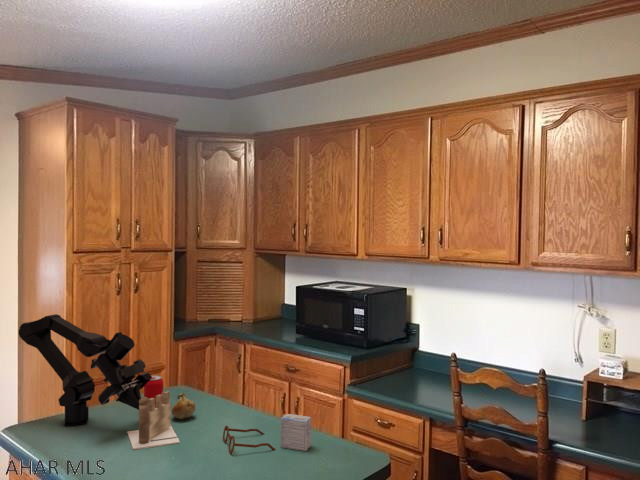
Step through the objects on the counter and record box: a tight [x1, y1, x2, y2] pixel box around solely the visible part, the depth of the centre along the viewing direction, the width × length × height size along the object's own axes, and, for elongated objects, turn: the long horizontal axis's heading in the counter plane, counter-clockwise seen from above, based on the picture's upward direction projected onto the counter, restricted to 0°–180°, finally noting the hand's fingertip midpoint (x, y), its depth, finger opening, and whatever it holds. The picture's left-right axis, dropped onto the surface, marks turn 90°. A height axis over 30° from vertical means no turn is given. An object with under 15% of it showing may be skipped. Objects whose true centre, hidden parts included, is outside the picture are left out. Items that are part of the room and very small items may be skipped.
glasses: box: [222, 425, 276, 455], centre depth 160 cm, size 13×13×5 cm
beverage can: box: [143, 374, 164, 408], centre depth 185 cm, size 6×6×12 cm
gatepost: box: [138, 396, 150, 444], centre depth 159 cm, size 3×3×14 cm
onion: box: [171, 392, 196, 420], centre depth 181 cm, size 8×8×8 cm
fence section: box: [149, 391, 172, 438], centre depth 166 cm, size 10×1×11 cm, turn 160°
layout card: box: [126, 425, 181, 451], centre depth 164 cm, size 13×14×1 cm
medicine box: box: [280, 413, 312, 452], centre depth 159 cm, size 8×4×9 cm, turn 71°
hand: (142, 409), depth 166 cm, fingers closed
